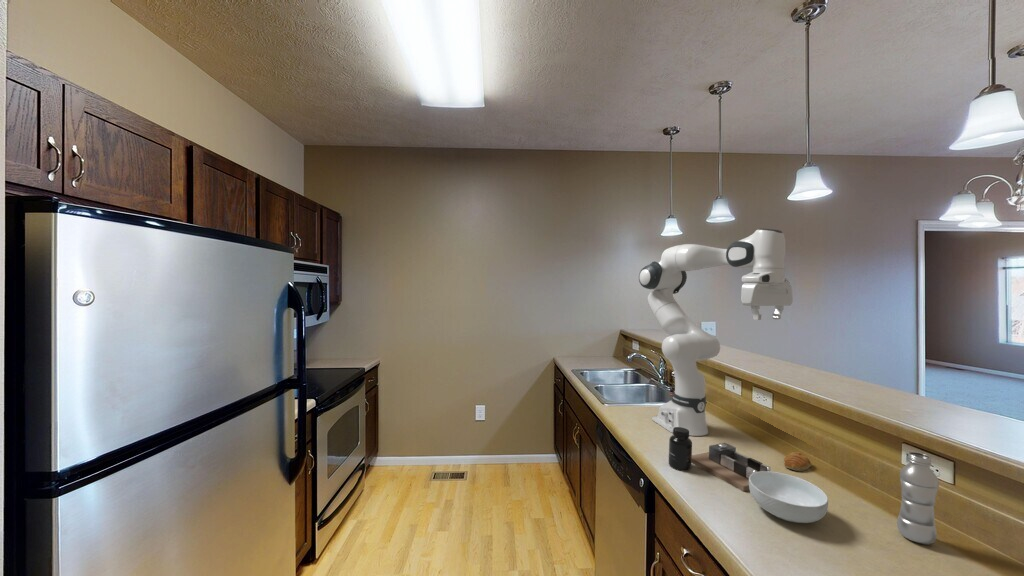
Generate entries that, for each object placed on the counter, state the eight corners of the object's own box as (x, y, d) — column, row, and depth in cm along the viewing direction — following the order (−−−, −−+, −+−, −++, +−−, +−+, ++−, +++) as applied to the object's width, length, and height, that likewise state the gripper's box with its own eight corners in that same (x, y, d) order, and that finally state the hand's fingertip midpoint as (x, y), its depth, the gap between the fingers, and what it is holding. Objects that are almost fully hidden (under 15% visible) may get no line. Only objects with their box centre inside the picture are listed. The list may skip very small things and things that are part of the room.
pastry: (803, 475, 121) (804, 463, 121) (778, 467, 126) (779, 455, 126) (812, 467, 127) (812, 455, 127) (788, 459, 132) (788, 448, 132)
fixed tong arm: (720, 464, 123) (720, 454, 123) (722, 464, 124) (723, 454, 124) (754, 482, 113) (755, 471, 113) (757, 481, 113) (757, 470, 113)
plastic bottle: (888, 531, 94) (891, 449, 94) (913, 530, 95) (916, 449, 94) (918, 549, 88) (922, 461, 87) (945, 548, 88) (949, 461, 88)
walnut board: (687, 460, 129) (687, 456, 129) (720, 454, 135) (720, 449, 135) (743, 491, 111) (743, 486, 111) (778, 482, 116) (778, 477, 116)
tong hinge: (708, 459, 127) (709, 443, 127) (724, 456, 130) (725, 440, 130) (719, 464, 124) (719, 448, 123) (735, 461, 126) (735, 445, 126)
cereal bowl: (735, 494, 109) (736, 469, 109) (795, 496, 109) (796, 471, 109) (774, 533, 92) (775, 504, 92) (845, 536, 92) (846, 506, 92)
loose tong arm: (733, 461, 126) (733, 451, 125) (736, 461, 126) (736, 451, 126) (768, 478, 115) (769, 468, 115) (771, 478, 115) (771, 467, 115)
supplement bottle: (665, 466, 125) (666, 429, 125) (672, 459, 130) (674, 423, 130) (687, 473, 120) (688, 435, 120) (694, 466, 125) (695, 429, 125)
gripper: (779, 278, 134) (778, 318, 135) (737, 276, 127) (736, 319, 127) (798, 278, 128) (797, 319, 129) (756, 276, 121) (754, 321, 121)
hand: (766, 319), depth 128 cm, fingers open, 8 cm apart
